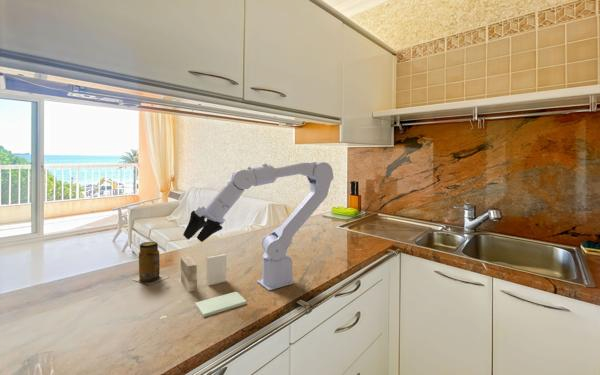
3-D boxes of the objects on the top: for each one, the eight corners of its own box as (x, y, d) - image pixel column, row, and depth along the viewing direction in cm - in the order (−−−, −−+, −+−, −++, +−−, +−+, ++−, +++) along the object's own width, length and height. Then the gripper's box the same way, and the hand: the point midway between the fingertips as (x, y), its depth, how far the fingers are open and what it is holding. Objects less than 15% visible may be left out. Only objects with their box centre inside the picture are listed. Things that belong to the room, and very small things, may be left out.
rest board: (236, 294, 83) (236, 291, 83) (246, 303, 78) (246, 301, 78) (195, 305, 76) (195, 302, 76) (203, 317, 71) (203, 314, 71)
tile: (224, 279, 93) (224, 253, 93) (226, 281, 92) (226, 254, 92) (207, 284, 90) (206, 257, 89) (208, 285, 89) (207, 258, 88)
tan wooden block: (189, 279, 93) (188, 256, 92) (197, 289, 86) (196, 264, 85) (181, 281, 92) (180, 257, 91) (188, 291, 84) (188, 266, 84)
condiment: (152, 272, 98) (151, 239, 97) (169, 277, 94) (168, 243, 93) (132, 280, 92) (131, 244, 91) (148, 285, 88) (147, 248, 87)
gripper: (223, 200, 92) (196, 233, 90) (202, 188, 78) (169, 226, 76) (238, 213, 90) (211, 247, 88) (219, 202, 76) (186, 242, 74)
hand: (192, 238), depth 82 cm, fingers open, 7 cm apart
